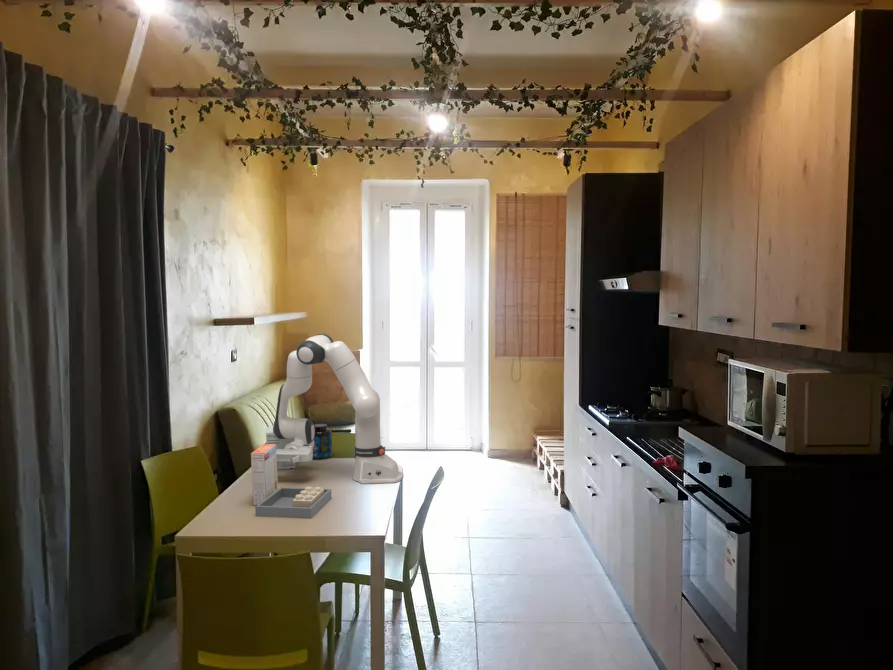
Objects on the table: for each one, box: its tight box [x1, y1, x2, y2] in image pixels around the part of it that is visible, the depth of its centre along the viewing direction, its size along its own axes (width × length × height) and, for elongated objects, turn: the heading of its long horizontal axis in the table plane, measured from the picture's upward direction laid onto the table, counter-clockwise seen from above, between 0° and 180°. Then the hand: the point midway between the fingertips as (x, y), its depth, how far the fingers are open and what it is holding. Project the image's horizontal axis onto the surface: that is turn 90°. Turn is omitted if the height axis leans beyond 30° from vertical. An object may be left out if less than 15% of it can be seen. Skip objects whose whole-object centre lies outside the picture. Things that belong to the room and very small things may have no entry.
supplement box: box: [265, 424, 297, 470], centre depth 286 cm, size 17×13×18 cm
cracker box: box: [250, 443, 279, 506], centre depth 235 cm, size 14×6×21 cm, turn 178°
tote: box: [254, 487, 332, 519], centre depth 224 cm, size 21×22×4 cm
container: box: [312, 423, 333, 460], centre depth 299 cm, size 12×12×16 cm
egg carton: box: [293, 485, 325, 508], centre depth 223 cm, size 7×14×6 cm, turn 172°
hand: (281, 460), depth 250 cm, fingers open, 8 cm apart
